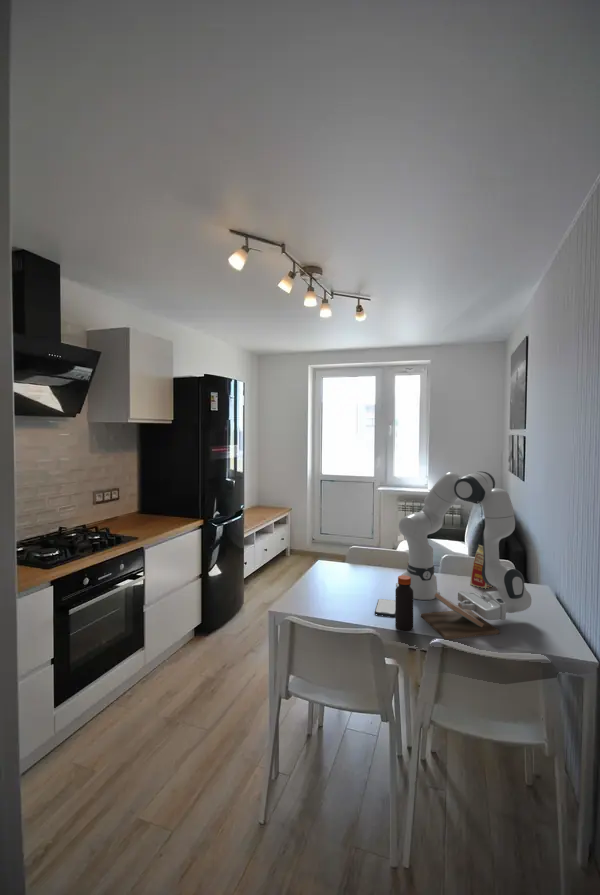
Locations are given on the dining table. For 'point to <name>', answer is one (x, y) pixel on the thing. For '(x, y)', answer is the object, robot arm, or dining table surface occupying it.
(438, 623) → the walnut board
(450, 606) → the tile
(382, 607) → the phone case
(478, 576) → the milk carton
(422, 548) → the robot arm
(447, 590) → the dining table surface
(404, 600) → the bottle
